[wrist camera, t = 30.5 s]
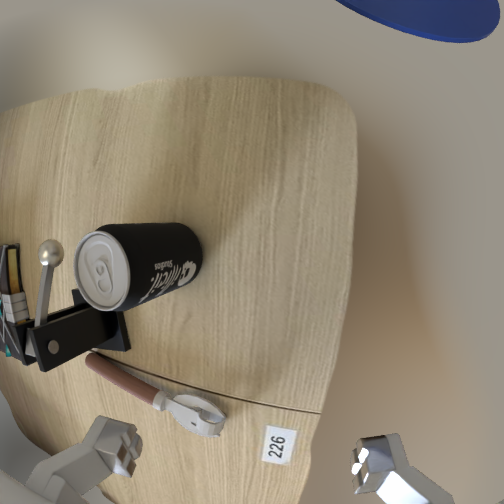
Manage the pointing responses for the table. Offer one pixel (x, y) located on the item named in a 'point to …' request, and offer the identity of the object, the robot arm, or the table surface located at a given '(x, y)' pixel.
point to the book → (10, 300)
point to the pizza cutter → (164, 399)
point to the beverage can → (135, 263)
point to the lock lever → (45, 283)
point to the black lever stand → (71, 334)
